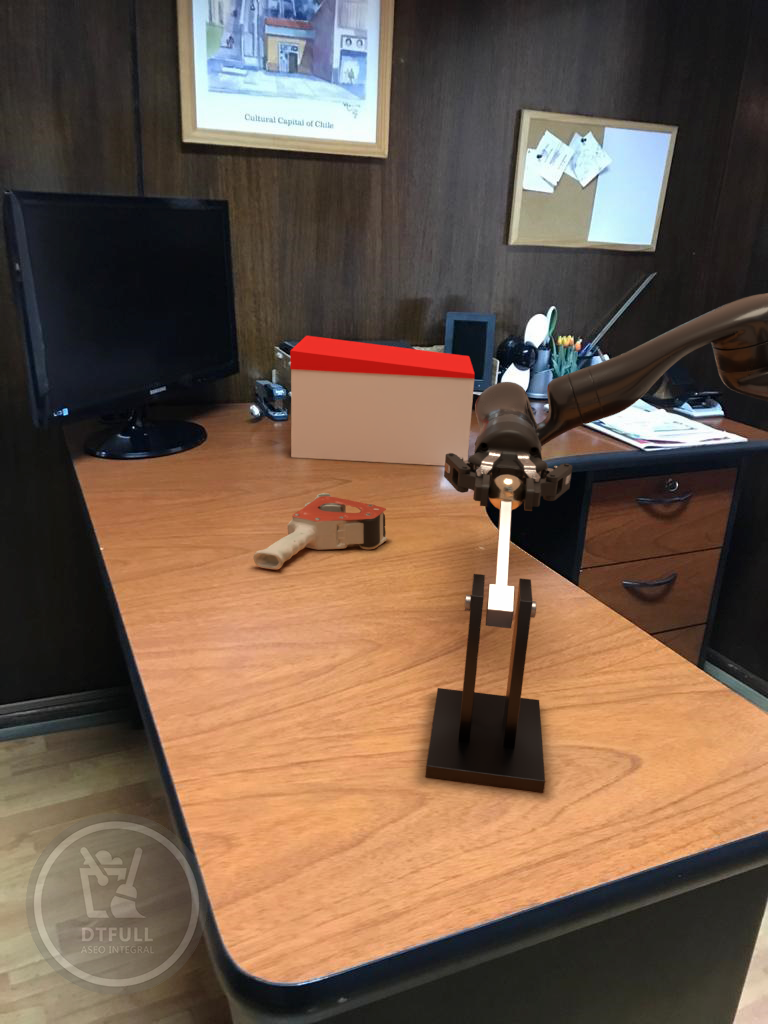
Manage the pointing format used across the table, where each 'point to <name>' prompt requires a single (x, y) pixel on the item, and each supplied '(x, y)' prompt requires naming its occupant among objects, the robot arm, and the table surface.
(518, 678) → the bracket
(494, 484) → the lever
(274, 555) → the tape dispenser
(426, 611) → the table surface
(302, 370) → the red-topped tan box
